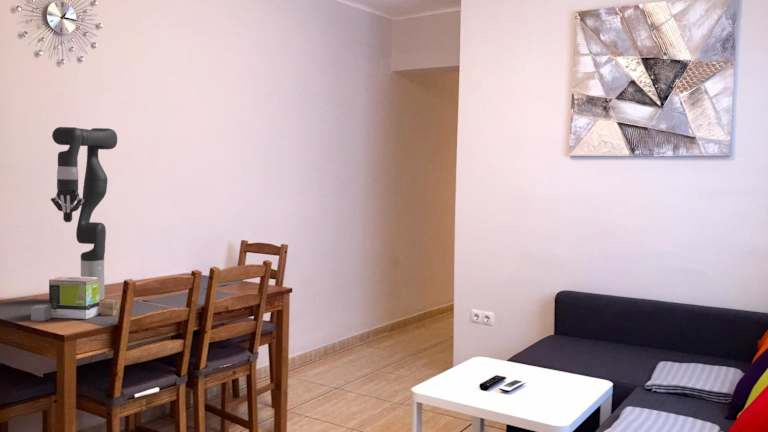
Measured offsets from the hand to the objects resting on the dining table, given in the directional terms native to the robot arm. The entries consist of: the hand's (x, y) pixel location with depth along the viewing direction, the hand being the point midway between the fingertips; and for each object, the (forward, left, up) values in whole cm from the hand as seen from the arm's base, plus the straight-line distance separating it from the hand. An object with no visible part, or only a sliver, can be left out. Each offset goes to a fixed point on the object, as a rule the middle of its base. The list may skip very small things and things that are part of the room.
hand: (67, 222), depth 258 cm
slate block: (+17, -1, -35) cm, 39 cm away
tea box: (+10, +8, -35) cm, 38 cm away
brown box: (+4, +19, -35) cm, 40 cm away
